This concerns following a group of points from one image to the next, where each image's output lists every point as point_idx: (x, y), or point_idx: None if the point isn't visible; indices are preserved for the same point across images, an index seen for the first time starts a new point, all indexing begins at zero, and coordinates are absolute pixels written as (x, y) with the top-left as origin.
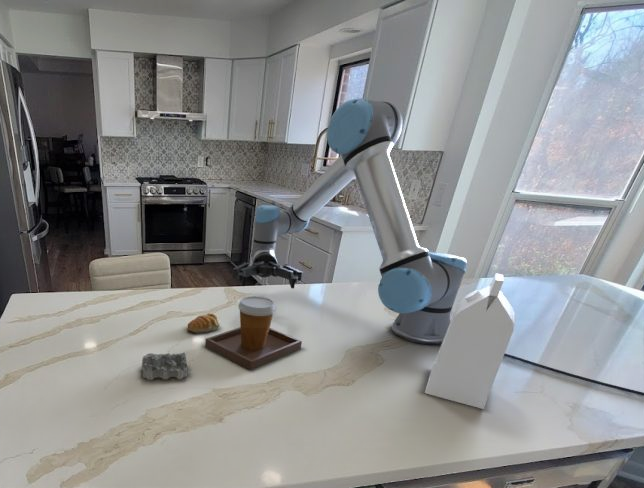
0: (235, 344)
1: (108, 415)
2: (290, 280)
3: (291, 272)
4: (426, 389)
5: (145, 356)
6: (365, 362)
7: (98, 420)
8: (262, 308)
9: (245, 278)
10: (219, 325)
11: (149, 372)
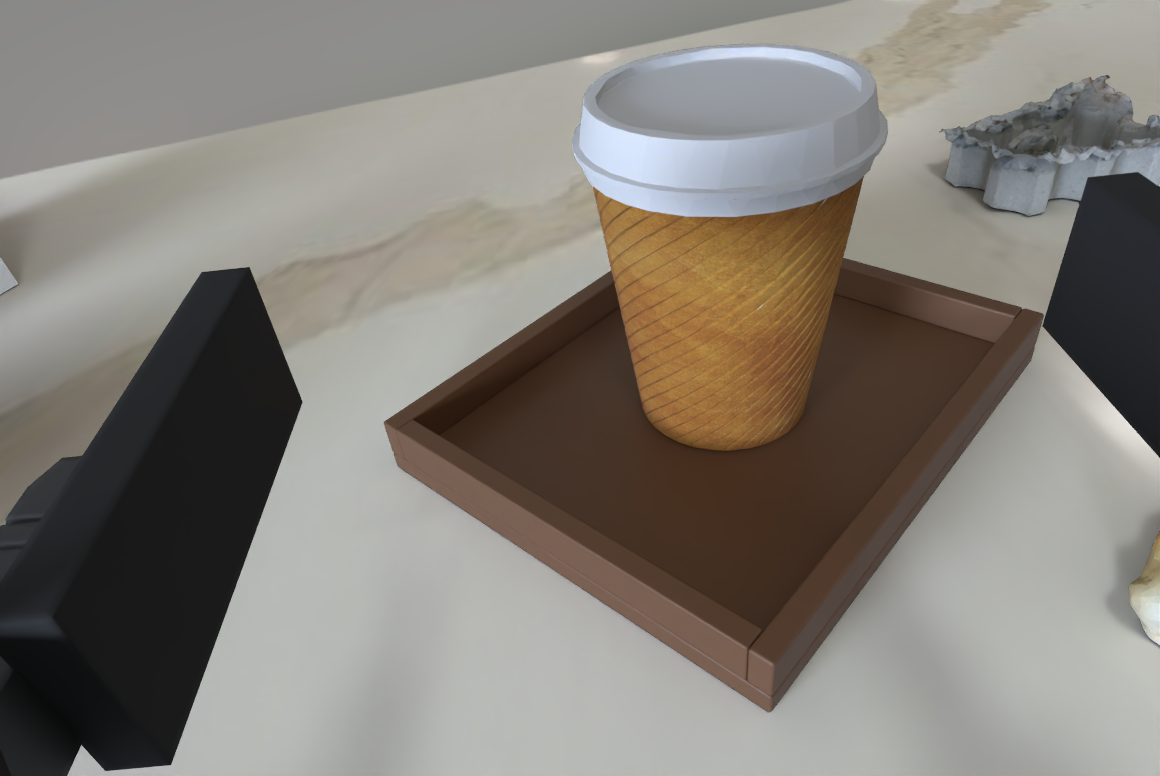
0: (838, 377)
1: (1037, 62)
2: (213, 506)
3: (19, 612)
4: (7, 269)
5: None
6: (72, 417)
7: (1044, 52)
8: (671, 57)
9: (1078, 210)
10: (1130, 590)
11: (1073, 111)
